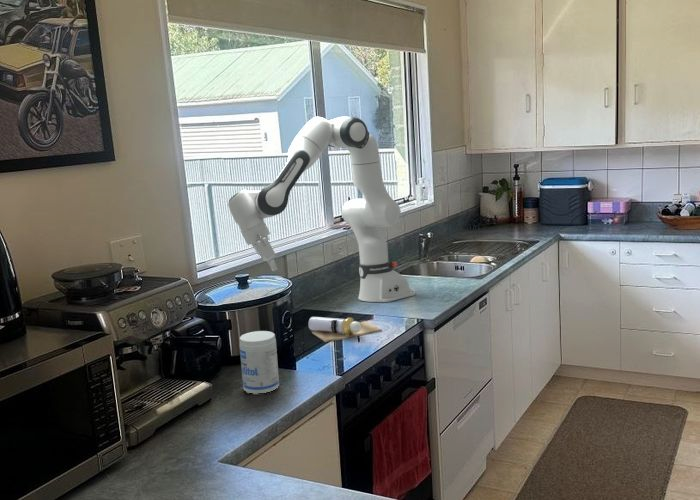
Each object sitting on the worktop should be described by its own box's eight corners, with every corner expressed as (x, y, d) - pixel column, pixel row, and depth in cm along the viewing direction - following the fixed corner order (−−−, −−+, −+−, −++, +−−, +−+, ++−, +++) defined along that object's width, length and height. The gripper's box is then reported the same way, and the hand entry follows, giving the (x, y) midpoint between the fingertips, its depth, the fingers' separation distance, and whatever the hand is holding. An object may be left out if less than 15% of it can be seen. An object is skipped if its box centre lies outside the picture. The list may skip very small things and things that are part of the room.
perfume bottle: (315, 313, 234) (364, 316, 223) (316, 330, 235) (365, 334, 223) (305, 316, 229) (354, 319, 218) (306, 333, 230) (355, 338, 218)
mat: (366, 322, 238) (366, 321, 238) (381, 331, 227) (381, 329, 227) (312, 333, 231) (311, 331, 230) (325, 342, 220) (325, 340, 220)
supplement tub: (236, 393, 182) (231, 340, 179) (255, 380, 190) (250, 329, 188) (268, 397, 178) (263, 342, 175) (286, 383, 186) (281, 331, 184)
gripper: (267, 229, 231) (286, 266, 232) (262, 232, 251) (280, 266, 252) (250, 238, 230) (270, 275, 231) (247, 240, 250) (265, 274, 251)
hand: (275, 270), depth 242 cm, fingers closed
